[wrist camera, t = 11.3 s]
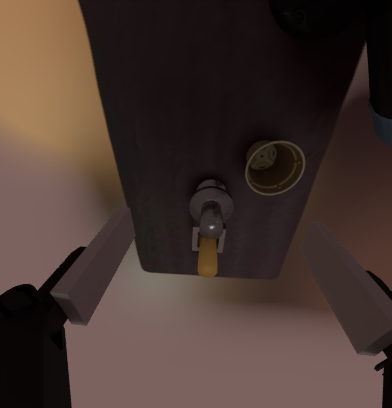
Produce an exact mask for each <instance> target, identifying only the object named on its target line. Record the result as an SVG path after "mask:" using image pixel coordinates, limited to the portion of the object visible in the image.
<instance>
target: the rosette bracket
mask: <svg viewBox="0 0 392 408" xmlns="http://www.w3.org/2000/svg"><path fill="white" fill-rule="evenodd" d="M189 210H190V214H191V216H192V217H193V218H194V224H193V241H192V250H194V251H199V248H200V235H202V236H203V237H204V238H206V239H216V246H217V253H222V251H223V245H224V239H225V233H226V225H225V222H226V221H228V220H229V219H230V217H231V216H232V214H233V211H234V204H233V200H232V197H231V195H230V194H229V193H228V192H227V191H226V187H225V185H224V184H223V183H222V182H221V181H220V180H217V179H213V178H210V179H206V180H203V181H202V182H201V183H200V184H199V185H198V187H197V191H196V192H195V193H194V194H193V196H192V197H191V200H190V204H189ZM199 275H200V274H199Z"/></svg>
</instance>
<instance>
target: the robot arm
mask: <svg viewBox="0 0 392 408" xmlns="http://www.w3.org/2000/svg"><path fill="white" fill-rule="evenodd" d="M269 2H270V6H271V9H272V12H273V15H274V17H275V19H276V21H277V22H278V24H279V25H280V26H281V28H282V29H283V30H284V31H285V32H287V33H288V34H290V35H291V36H293V37H296V38H299V39H305V40H311V39H318V38H322V37H325V36H327V35H329V34H331V33H333V32H335V31H337V30H339V29H341V28H343V27H344V26H346V25H348V24H349V23H351V22H352V21H353V20H355V19H356V18H357V17H358V16H359V15H361V14H362V13H363V12H364V11H365V31H366V43H367V56H368V70H369V88H370V98H369V109H370V112H371V113H372V115H373V122H374V129H375V133H376V135H377V136H378V138H379V139H380V140H381V141H383V142H385V143H387V144H388V145H389V146H391V147H392V0H269ZM134 237H135V232H134V227H133V221H132V216H131V211H130V208H127V207H119V209H118V210H117V211H116V212H115V213H114V215H113V216H112V217H111V218H110V219H109V221H108V222H107V223H106V224H105V226H104V227H103V228H102V229H101V231H100V232H99V233H98V234H97V235H96V237H95V238H94V239H93V240H92V242H91V243H90V244H89V245H88V246H87V247H79V248H77V249H76V250H75V251H73V252H72V253H71V254H70V255H69V256H68V257H67V258H66V259H65V261H64V262H63V263H62V264H61V265H60V266H59V268H57V269H56V271H55V272H54V273H53V274H52V275H51V276H50V277H49V278H48V279H47V281H46V282H45V283H44V284H43V285H42V286H41V287H40V288H39V290H38V291H37V290H36V288H35V287H34V286H33V285H31V284H22V285H18V286H15V287H13V288H11V289H9V290H7V291H6V292H5V293H3V294H2V295H0V408H72V407H71V395H70V384H69V373H68V362H67V350H66V339H65V329H64V326H63V325H64V323H65V322H66V320H67V319H69V321H70V322H71V324H76V325H87V324H88V322H89V320H90V318H91V316H92V315H93V313H94V311H95V309H96V307H97V305H98V304H99V302H100V300H101V298H102V296H103V294H104V293H105V291H106V289H107V287H108V285H109V283H110V281H111V280H112V278H113V276H114V274H115V272H116V270H117V268H118V267H119V265H120V263H121V261H122V259H123V257H124V255H125V254H126V252H127V250H128V248H129V246H130V245H131V243H132V241H133V239H134ZM298 250H299V251H300V253H301V255H302V256H303V258H304V260H305V262H306V264H307V266H308V267H309V269H310V271H311V273H312V274H313V276H314V278H315V280H316V282H317V283H318V285H319V287H320V289H321V290H322V292H323V294H324V295H325V297H326V299H327V301H328V303H329V305H330V306H331V308H332V310H333V312H334V313H335V315H336V317H337V319H338V321H339V322H340V324H341V326H342V328H343V329H344V331H345V333H346V335H347V336H348V338H349V340H350V342H351V344H352V345H353V347H354V349H355V351H356V352H357V354H360V355H369V356H375V355H377V354H378V353H380V352H381V351H383V352H384V353H385V355H386V356H387V359H385V360H384V361H382V362H380V363H379V364H377V365H376V366H375V368H374V369H375V370H376V371H379V370H380V369H382V368H384V373H383V374H382V375H383V402H382V408H392V291H390V290H389V288H388V287H387V286H386V285H385V283H384V282H383V281H382V280H381V279H380V278H378V277H377V276H376V275H374V274H373V273H372V272H370V271H366V270H364V269H363V267H362V266H361V265H360V264H359V263H358V262H357V261H356V259H355V258H354V257H353V256H352V255H351V254H350V253H349V251H348V250H347V249H346V248H345V247H344V246H343V245H342V243H341V242H340V241H339V240H338V239H337V238H336V237H335V235H334V234H333V233H332V232H331V231H330V230H329V229H328V228H327V226H326V225H325V224H324V223H323V222H311V224H310V226H309V228H308V230H307V232H306V234H305V236H304V239H303V240H302V243H301V245H300V247H299V249H298Z"/></svg>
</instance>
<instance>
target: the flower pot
mask: <svg viewBox="0 0 392 408" xmlns="http://www.w3.org/2000/svg"><path fill="white" fill-rule="evenodd" d="M273 151H274V156H273ZM262 155H263V157H261V156H262ZM246 160H247V165H246V169H245V177H246V181H247V183H248V185H249V186H250V187H251V189H253V190H254V191H255V192H257V193H259V194H262V195H276V194H280V193H283V192H285V191H287V190H289V189H290V188H292V187H293V186H294V185H295V184H296V183H297V182H298V181H299V180H300V178H301V176H302V174H303V172H304V169H305V157H304V154H303V152H302V151H301V149H300V148H299V147H298V146H297V145H295V144H293V143H291V142H288V141H273V142H271V141H267V140H262V141H258V142H256V143H255V144H253V145H252V146H251V147H250V149H249V150H248V152H247V155H246ZM262 166H265V167H264V168H259V167H262Z"/></svg>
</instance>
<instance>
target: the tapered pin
mask: <svg viewBox="0 0 392 408" xmlns="http://www.w3.org/2000/svg"><path fill="white" fill-rule="evenodd" d="M198 273H199V274H200V275H201V276H203V277H213V276H215V275H216V274H217V246H216V239H206V238H204V237H203V236H202V235H200V248H199V261H198Z"/></svg>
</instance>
